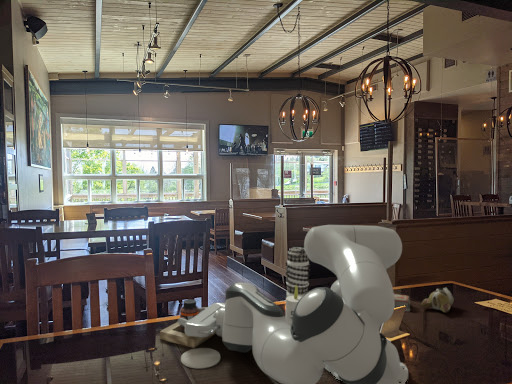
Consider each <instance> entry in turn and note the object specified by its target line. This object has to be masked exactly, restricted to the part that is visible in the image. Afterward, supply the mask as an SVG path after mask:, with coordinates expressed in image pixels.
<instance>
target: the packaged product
mask: <svg viewBox="0 0 512 384" xmlns="http://www.w3.org/2000/svg"><path fill="white" fill-rule="evenodd" d="M394 300H395V307H394V308H396V307H400V306H404V305H405V306H406V310H405V311H404V312H408V313H409V312H410V311H411V300H410V296H409V295H405V294H397V293H394Z"/></svg>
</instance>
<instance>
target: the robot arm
mask: <svg viewBox="0 0 512 384" xmlns="http://www.w3.org/2000/svg"><path fill="white" fill-rule="evenodd" d="M303 248H305V252H306V254H307V256H308V260H309V261H311V262H312V263H315V264H318V265H321V266H322V267H325V268H326V269H328V270H329V271H331V272H332V273H333V274H334V275H335V276H336V278H337V279H336V280H335V281H334V282H333V283H332V285H331V287H330V288H329V287H326V286H321V287H315V288H313V289H311V290H308V292H307V293H306V294H305V295H304V296H303V297H302V298H301V299H300V300H299V301H298V303H297V305H296V307H295V309H294V313H293V317H292V324H291V327H290V325H289V324H288V322H287V320H286V318H285V315H284V312H283V309H282V308H281V307H280V306H279V305H278V304H276V302H274V301H273V300H271V299H270V298H269V297H267V296H266V295H265V294H263V293H262V292H261V291H260V290H259V288H258V287H257V286H256V285H253V284H252V283H249V282H234V283H232V284H231V285H230V286H229V287H228V288H227V289H225V296H224V297H225V299H224V300H225V302H214V303H212V304H210V305H209V306H206V307H198V308H199V314H198V315H196V316H195V317H193V318H192V319H190V320H186V319H185V318H183V317H181V318H180V317H179V318H178V319H177V322H178V324H179V325H183V326H184V327H185V334H186V335H187V336H194V337H208V336H210V335H211V334H214V333H215V331H216V336H217V337H221V338H222V339H221V341H222V343H223V345H224V346H225V347H226V349H228V350H229V351H235V352H239V353H248V352H249V351H251V350H252V355H253V358H254V361H255V362H256V364H257V366H258V367H259V369H260V370H261V371H262V372H263V373H264V374H265V375H266V376H268V377H270V378H271V379H272V380H274V381H276V382H278V383H280V384H317V383H318V381H320V379H321V377H322V376H323V372H324V369H325V370H326V371H328V372H329V373H330V372H331V373H330V374H332V375H333V377H334V376H335V377H336V378H335V377H334V378H335V380H336V379H338V380H341V381H343V382H342V383H344V384H405V382H406V381H407V379H408V380H409V369H408V367H407V366H406V364H404V363H403V362H401V360H400V355H399V352H398V349H397V347H396V346H395V345H394V344H393V343H392V342H390V341H389V340H388V339H387V337H386V335H384V334H383V333H382V332H380V328H381V326H382V325H383V324H384V323H386V322H387V321H388V320H389V319H391V317H392V316H393V313H394V311H395V310H394V307H395V300H394V294H395V293H394V288H393V284H392V281H391V278H390V277H389V274H388V272H387V269H389V268H390V267H391V266H393V265H395V264H396V263H397V262H398V260H399V259H401V255H402V253H403V243H402V239H401V237H400V236H399V234H398V232H396V231H395V229H393V228H388V227H384V226H379V225H361V224H360V225H355V224H353V225H352V224H351V225H350V224H326V225H318V226H313V227H311V228H310V229H309V230H308V231H307V233H306V235H305V237H304V243H303ZM214 335H215V334H214ZM403 368H404V369H403ZM338 380H337V381H338ZM399 382H401V383H399ZM407 382H408V381H407Z"/></svg>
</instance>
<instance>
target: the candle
mask: <svg viewBox="0 0 512 384" xmlns="http://www.w3.org/2000/svg"><path fill="white" fill-rule="evenodd" d="M301 298H302V297H300V296H298V288H297V285H296V286H295V292H294V296H288V297H286V296H285V315H284V316H285V318H286V320H287V322H288V324H289V325H290V327H291V324H292V317H293V313H294V309H295V307H296V305H297V303H298V301H299V300H300V299H301Z"/></svg>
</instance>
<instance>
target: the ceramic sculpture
mask: <svg viewBox="0 0 512 384" xmlns="http://www.w3.org/2000/svg"><path fill="white" fill-rule="evenodd" d="M454 299H455V298H454V296H453V294H452V293H451V291H450V290H449V289H448V287H447V286H446V287H443V288H440V287H438V288H436V290H434V291H432V292H431V293H429V297H428V298H427V297H426V298H424V299H422V301H421V303H420V304H419V306H420V307H421V308H422V307H423V308H424V309H426V308H427V309H428V308H430V307H431V308H432V310H433V309H434V310H436V311H441V312H443V313H448V312H450V310H451V307H452V305H453V304H454Z"/></svg>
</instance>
